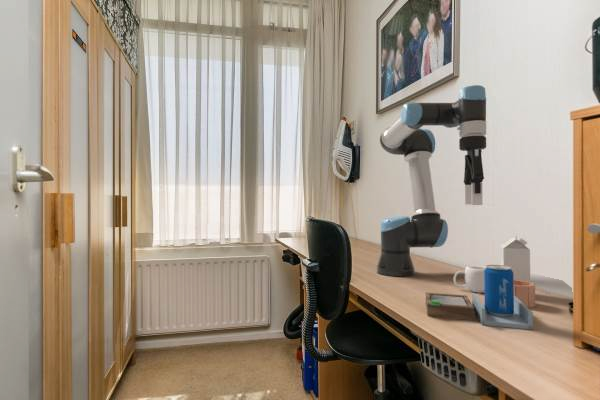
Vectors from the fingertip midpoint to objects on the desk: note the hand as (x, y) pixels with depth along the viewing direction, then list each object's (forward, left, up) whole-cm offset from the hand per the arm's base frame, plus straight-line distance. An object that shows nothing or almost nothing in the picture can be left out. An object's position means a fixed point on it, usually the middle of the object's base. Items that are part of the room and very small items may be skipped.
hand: (473, 204), depth 106 cm
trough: (+19, +3, -29) cm, 35 cm away
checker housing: (+17, -9, -29) cm, 35 cm away
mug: (-8, +1, -29) cm, 30 cm away
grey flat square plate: (+17, -9, -27) cm, 33 cm away
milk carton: (-7, +13, -29) cm, 32 cm away
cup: (+4, +11, -29) cm, 31 cm away
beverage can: (+19, +3, -28) cm, 34 cm away
